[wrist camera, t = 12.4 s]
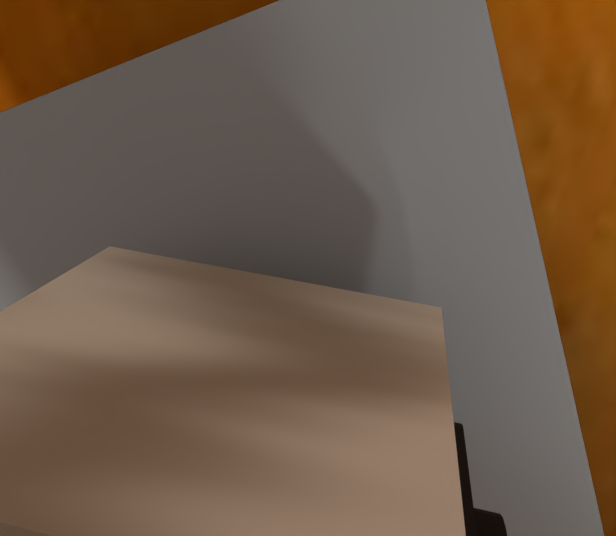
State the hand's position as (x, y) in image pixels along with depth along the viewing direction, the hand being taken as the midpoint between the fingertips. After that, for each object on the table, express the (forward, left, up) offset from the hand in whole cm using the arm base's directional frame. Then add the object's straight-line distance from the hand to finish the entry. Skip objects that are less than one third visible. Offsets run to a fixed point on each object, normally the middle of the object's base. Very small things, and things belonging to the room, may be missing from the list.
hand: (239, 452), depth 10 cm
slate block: (0, 0, -9) cm, 9 cm away
